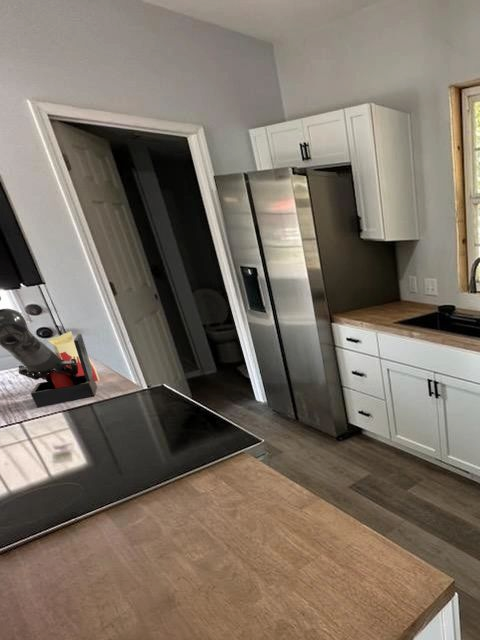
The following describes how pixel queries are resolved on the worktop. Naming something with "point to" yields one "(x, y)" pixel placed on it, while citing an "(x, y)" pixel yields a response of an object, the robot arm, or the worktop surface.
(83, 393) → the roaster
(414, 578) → the worktop surface
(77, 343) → the lid
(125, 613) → the worktop surface
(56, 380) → the red capped cylinder
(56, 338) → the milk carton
